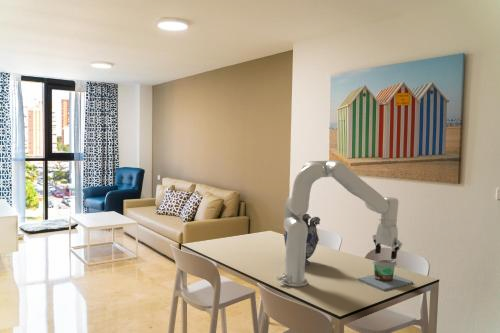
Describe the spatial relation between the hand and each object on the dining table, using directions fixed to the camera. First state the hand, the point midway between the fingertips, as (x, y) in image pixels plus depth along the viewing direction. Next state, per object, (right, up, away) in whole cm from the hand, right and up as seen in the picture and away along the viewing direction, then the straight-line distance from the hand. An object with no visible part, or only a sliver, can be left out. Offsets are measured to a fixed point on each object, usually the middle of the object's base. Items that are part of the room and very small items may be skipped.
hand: (385, 256), depth 200 cm
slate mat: (0, -13, +1) cm, 13 cm away
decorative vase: (-39, -10, +28) cm, 49 cm away
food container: (+1, -13, 0) cm, 12 cm away
